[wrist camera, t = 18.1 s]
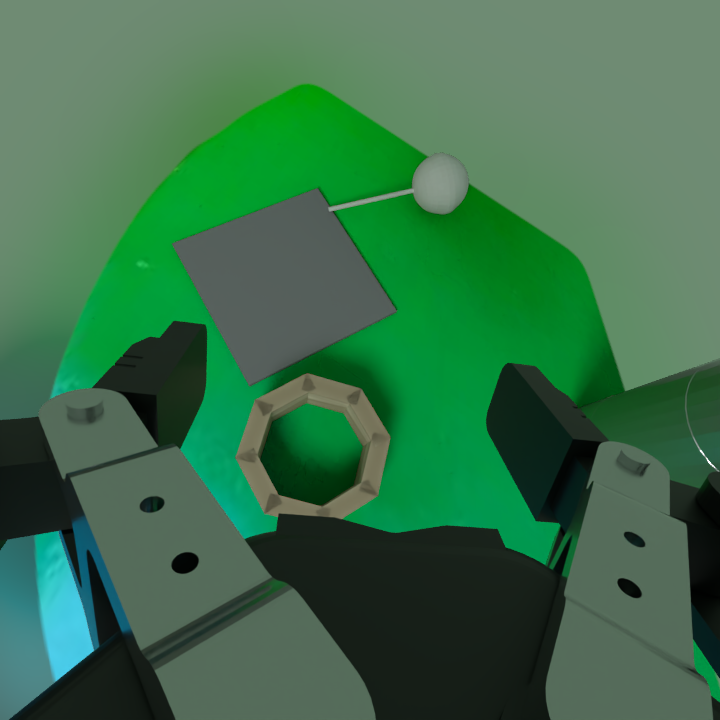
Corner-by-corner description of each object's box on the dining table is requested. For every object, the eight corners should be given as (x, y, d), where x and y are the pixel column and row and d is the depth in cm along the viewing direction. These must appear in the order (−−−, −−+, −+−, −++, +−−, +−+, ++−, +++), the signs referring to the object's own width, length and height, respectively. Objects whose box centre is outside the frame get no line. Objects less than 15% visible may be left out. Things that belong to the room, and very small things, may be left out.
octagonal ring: (336, 368, 42) (341, 355, 38) (400, 477, 40) (412, 473, 36) (222, 428, 39) (215, 419, 35) (285, 550, 37) (285, 555, 33)
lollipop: (336, 247, 49) (466, 217, 50) (335, 226, 43) (483, 193, 44) (322, 194, 50) (451, 165, 51) (320, 167, 44) (466, 134, 45)
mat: (317, 190, 48) (317, 188, 48) (395, 312, 45) (396, 310, 45) (173, 245, 43) (172, 243, 43) (249, 386, 40) (249, 385, 40)
